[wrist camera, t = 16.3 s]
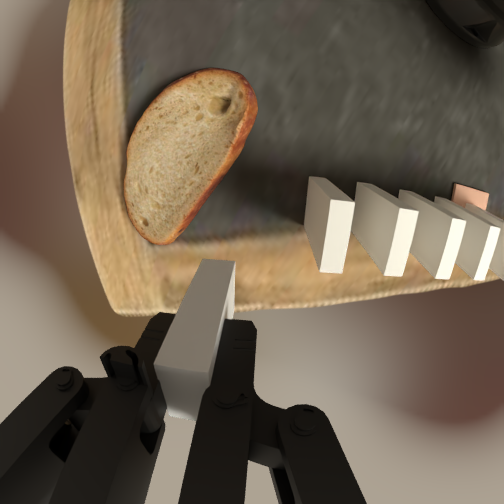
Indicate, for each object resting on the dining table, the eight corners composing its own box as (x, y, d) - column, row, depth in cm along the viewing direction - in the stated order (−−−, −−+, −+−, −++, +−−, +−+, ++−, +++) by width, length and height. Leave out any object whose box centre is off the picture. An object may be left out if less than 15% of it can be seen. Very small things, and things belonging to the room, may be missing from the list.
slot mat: (437, 255, 31) (439, 256, 30) (454, 183, 26) (456, 183, 26) (470, 258, 30) (471, 260, 30) (486, 192, 26) (488, 193, 26)
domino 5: (456, 242, 29) (504, 282, 19) (466, 202, 27) (521, 233, 17) (464, 243, 29) (512, 282, 19) (474, 205, 27) (528, 235, 17)
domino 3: (391, 234, 30) (435, 278, 20) (399, 189, 28) (452, 217, 18) (403, 235, 30) (449, 279, 20) (412, 191, 28) (466, 220, 18)
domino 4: (425, 238, 30) (473, 279, 20) (435, 196, 27) (490, 225, 17) (436, 239, 30) (483, 280, 20) (445, 198, 27) (500, 228, 17)
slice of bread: (148, 249, 33) (135, 262, 30) (102, 117, 26) (84, 117, 23) (288, 212, 30) (290, 223, 27) (243, 58, 23) (240, 49, 20)
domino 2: (349, 229, 30) (383, 275, 20) (357, 181, 28) (399, 208, 18) (363, 230, 30) (402, 276, 20) (371, 183, 28) (418, 211, 18)
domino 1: (303, 225, 30) (319, 272, 20) (308, 176, 28) (330, 199, 18) (319, 226, 30) (342, 273, 20) (325, 177, 28) (355, 202, 18)
